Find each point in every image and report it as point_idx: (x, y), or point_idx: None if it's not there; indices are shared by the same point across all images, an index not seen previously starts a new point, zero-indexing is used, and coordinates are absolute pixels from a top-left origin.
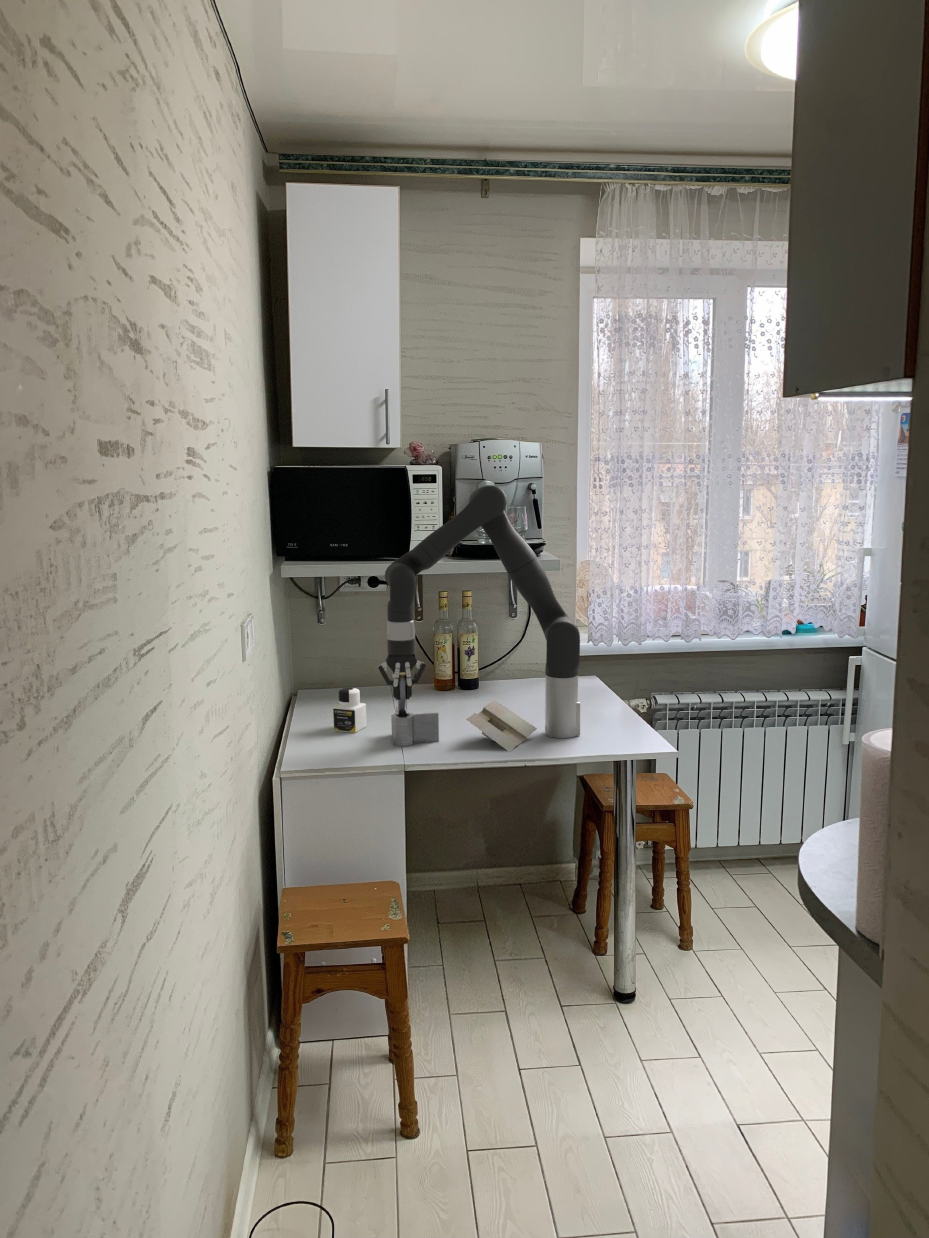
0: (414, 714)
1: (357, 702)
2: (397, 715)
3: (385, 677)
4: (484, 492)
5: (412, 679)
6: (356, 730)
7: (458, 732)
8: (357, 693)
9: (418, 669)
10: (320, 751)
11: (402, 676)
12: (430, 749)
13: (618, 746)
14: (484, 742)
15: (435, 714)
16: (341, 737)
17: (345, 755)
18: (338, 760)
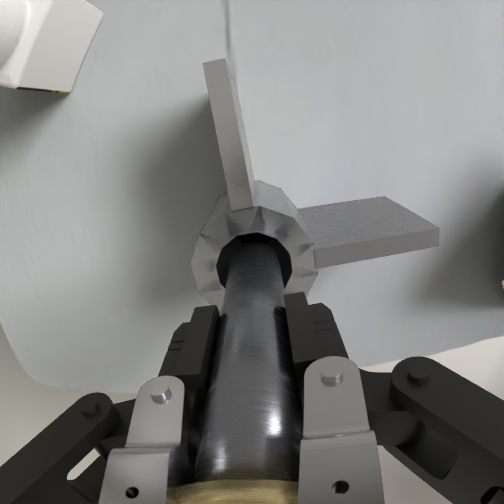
0: (321, 256)
1: (12, 40)
2: (223, 244)
3: (91, 497)
4: None
5: (378, 436)
6: (70, 85)
7: (451, 111)
8: None
9: (498, 480)
10: (29, 284)
11: None
12: (347, 294)
13: None
14: (495, 235)
15: (424, 246)
16: (39, 147)
17: (94, 325)
18: (93, 357)
